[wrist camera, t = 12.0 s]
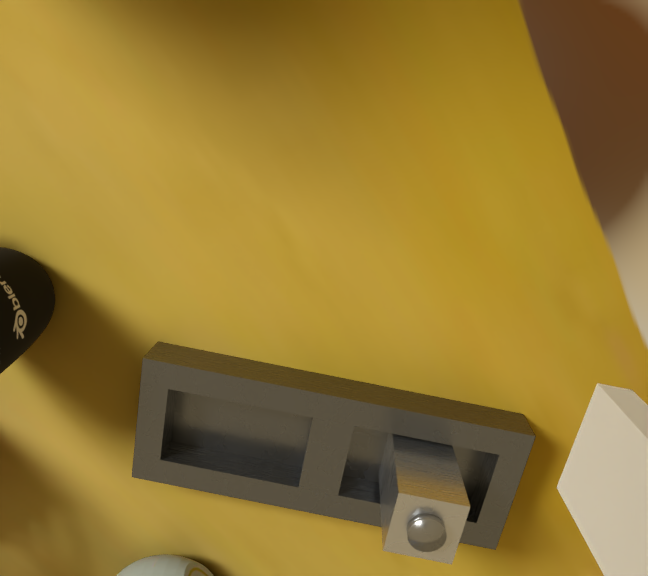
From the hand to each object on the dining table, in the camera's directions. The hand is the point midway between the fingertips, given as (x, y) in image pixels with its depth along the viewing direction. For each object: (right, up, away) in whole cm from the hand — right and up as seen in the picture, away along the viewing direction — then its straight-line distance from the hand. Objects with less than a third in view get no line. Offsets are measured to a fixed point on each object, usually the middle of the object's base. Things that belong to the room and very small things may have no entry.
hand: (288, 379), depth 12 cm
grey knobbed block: (+8, -11, +30) cm, 32 cm away
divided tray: (+1, -9, +30) cm, 32 cm away
